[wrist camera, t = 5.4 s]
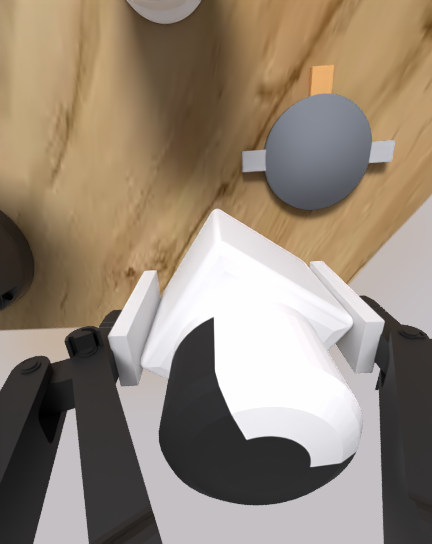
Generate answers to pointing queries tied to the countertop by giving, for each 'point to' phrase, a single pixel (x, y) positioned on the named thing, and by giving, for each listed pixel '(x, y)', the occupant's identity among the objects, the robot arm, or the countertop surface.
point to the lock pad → (318, 147)
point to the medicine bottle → (251, 370)
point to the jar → (164, 9)
